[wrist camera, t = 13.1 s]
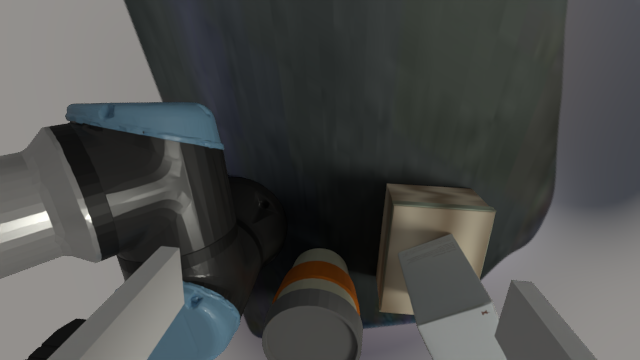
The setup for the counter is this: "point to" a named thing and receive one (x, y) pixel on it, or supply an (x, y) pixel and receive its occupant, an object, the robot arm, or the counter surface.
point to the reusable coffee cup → (314, 312)
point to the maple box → (427, 233)
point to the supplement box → (450, 302)
